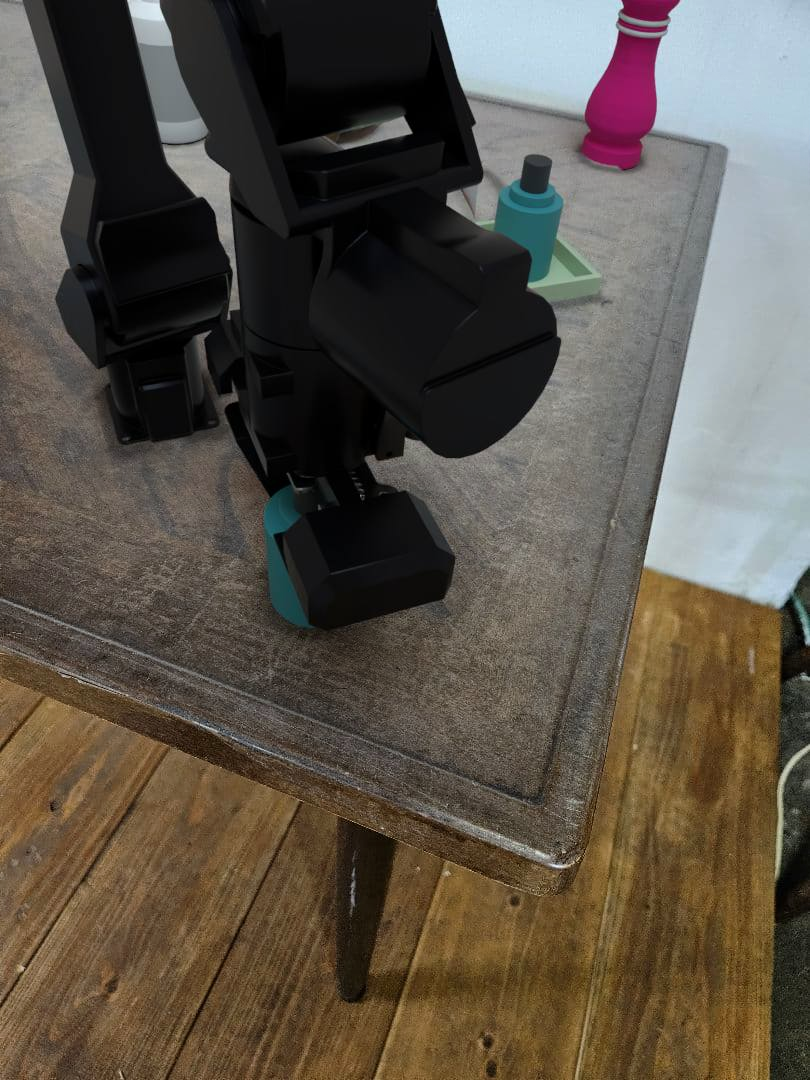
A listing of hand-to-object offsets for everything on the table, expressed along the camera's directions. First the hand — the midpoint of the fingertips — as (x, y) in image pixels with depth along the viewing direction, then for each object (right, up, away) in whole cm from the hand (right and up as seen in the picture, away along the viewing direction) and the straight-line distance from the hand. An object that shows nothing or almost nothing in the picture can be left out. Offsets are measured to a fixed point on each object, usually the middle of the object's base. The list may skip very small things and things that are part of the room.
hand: (316, 567), depth 44 cm
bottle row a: (+14, +25, +26) cm, 39 cm away
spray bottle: (-19, +44, +42) cm, 63 cm away
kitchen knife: (+11, +38, +39) cm, 56 cm away
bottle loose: (0, -1, +2) cm, 2 cm away
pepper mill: (+27, +42, +45) cm, 67 cm away
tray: (+7, +23, +24) cm, 34 cm away
